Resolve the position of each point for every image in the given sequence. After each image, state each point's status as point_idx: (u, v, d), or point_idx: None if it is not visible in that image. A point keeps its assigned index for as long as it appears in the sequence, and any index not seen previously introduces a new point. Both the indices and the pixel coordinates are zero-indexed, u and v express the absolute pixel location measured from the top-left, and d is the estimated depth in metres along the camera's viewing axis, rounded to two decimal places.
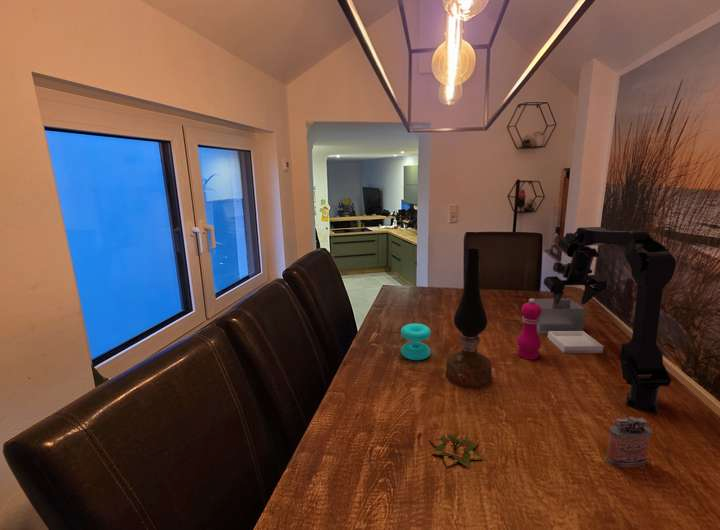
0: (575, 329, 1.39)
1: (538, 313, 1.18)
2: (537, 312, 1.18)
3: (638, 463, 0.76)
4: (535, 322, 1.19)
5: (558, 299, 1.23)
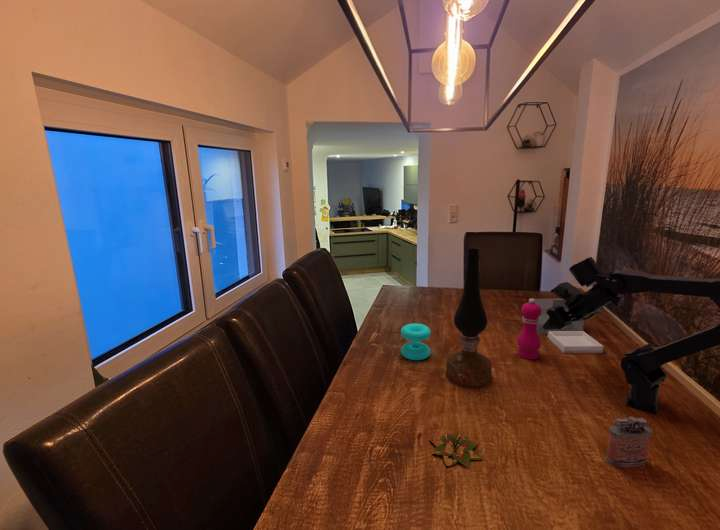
0: (575, 329, 1.39)
1: (538, 313, 1.18)
2: (537, 312, 1.18)
3: (638, 463, 0.76)
4: (535, 322, 1.19)
5: (553, 328, 1.09)
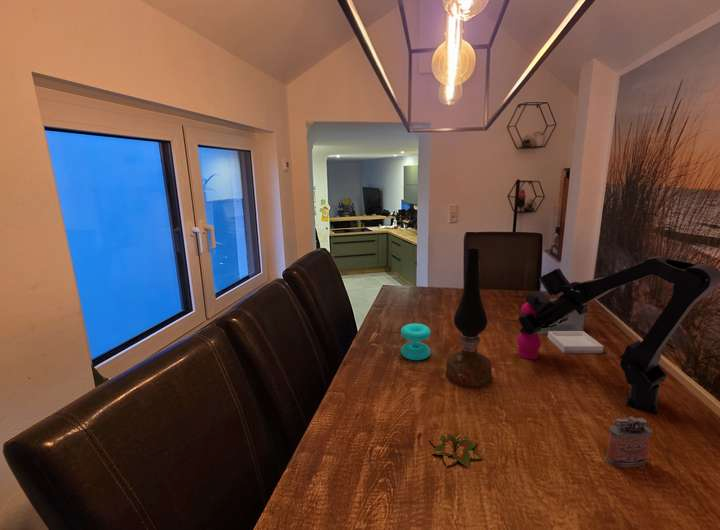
0: (575, 329, 1.39)
1: None
2: None
3: (638, 463, 0.76)
4: None
5: None
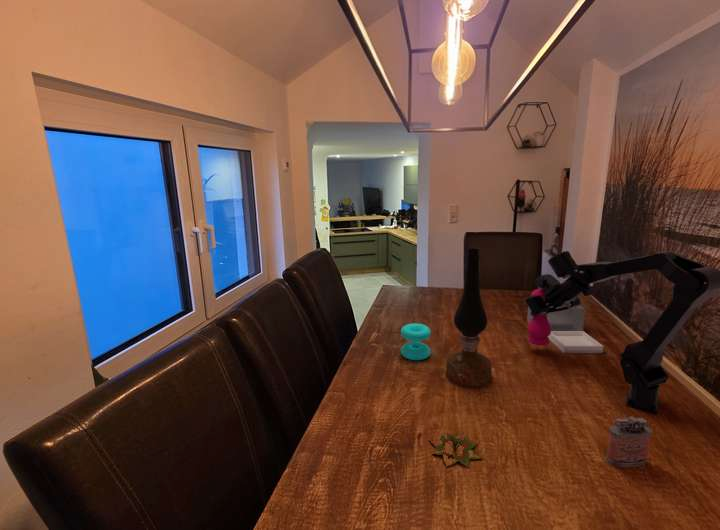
0: (575, 329, 1.39)
1: None
2: None
3: (638, 463, 0.76)
4: None
5: None
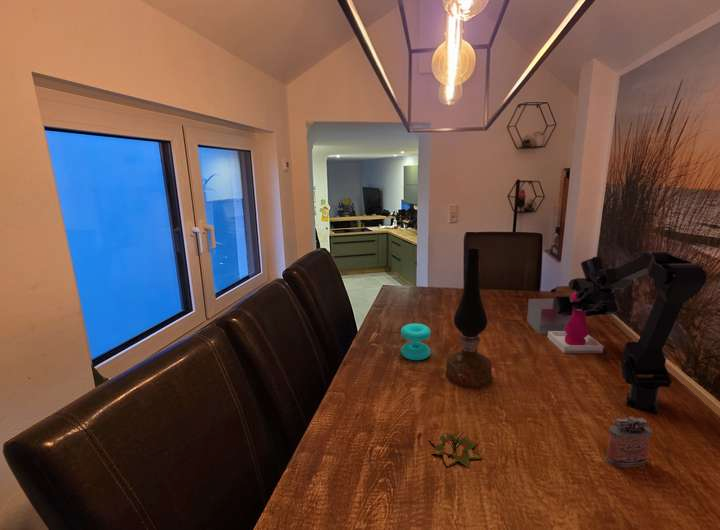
0: None
1: None
2: None
3: (638, 463, 0.76)
4: (581, 309, 1.25)
5: (566, 315, 1.26)
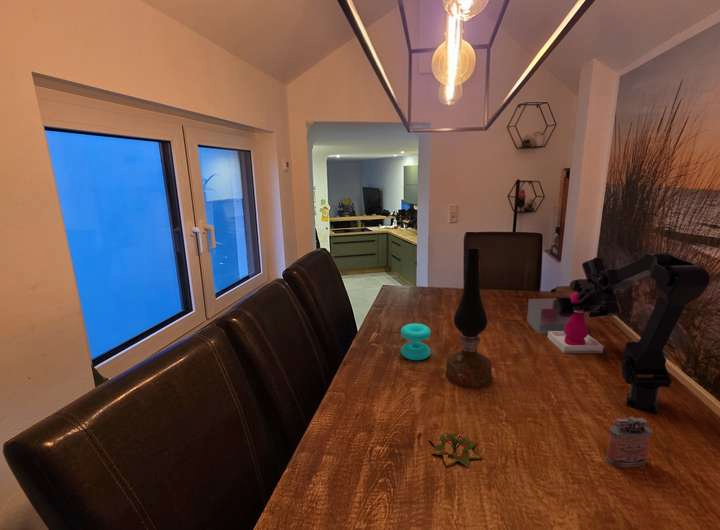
0: None
1: None
2: None
3: (638, 463, 0.76)
4: (579, 311, 1.25)
5: None
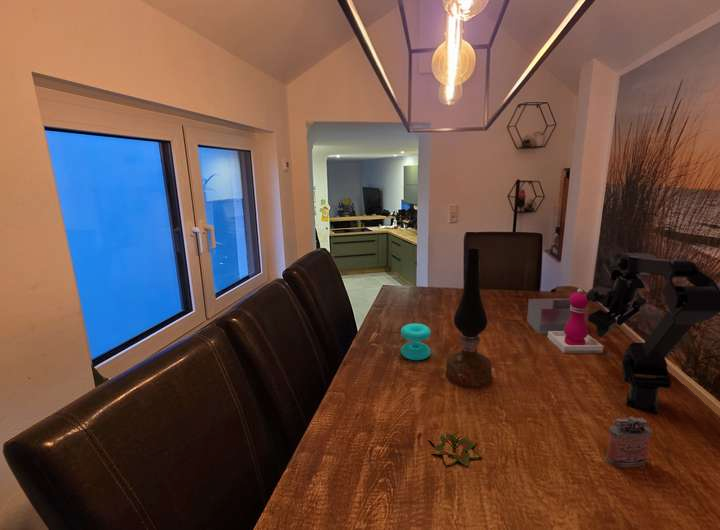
0: None
1: (582, 302, 1.23)
2: (581, 301, 1.23)
3: (638, 463, 0.76)
4: (579, 311, 1.25)
5: (606, 333, 1.10)
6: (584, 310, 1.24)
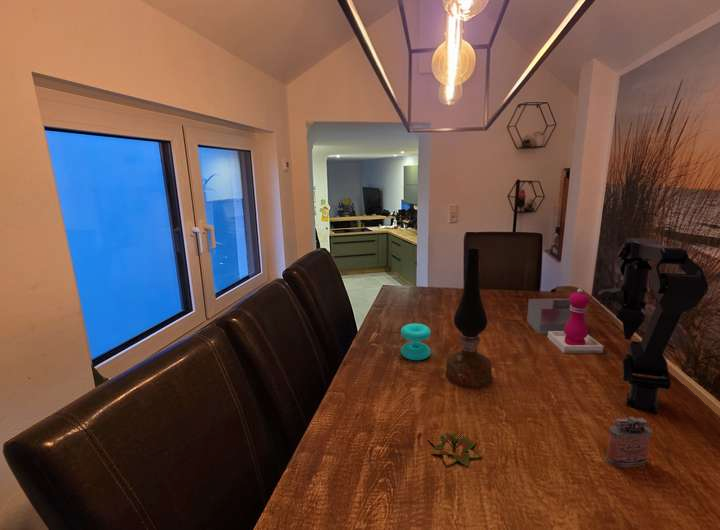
0: None
1: (582, 302, 1.23)
2: (581, 301, 1.23)
3: (638, 463, 0.76)
4: (579, 311, 1.25)
5: None
6: (584, 310, 1.24)
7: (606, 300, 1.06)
